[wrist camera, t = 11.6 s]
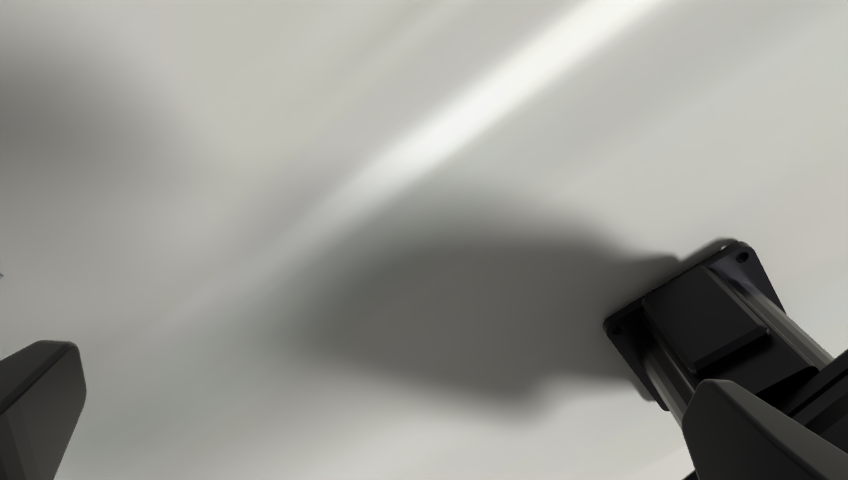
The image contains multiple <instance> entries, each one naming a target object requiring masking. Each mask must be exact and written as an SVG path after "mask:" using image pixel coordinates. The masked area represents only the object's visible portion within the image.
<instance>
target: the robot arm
mask: <svg viewBox="0 0 848 480" xmlns="http://www.w3.org/2000/svg"><path fill="white" fill-rule="evenodd" d="M739 253H742V254H741V255H740V256H739V257H737V255H738V254H739ZM736 257H737V258H736ZM617 325H620V326H619V327H618V328H615V329H613V328H614V327H615V326H617ZM603 329H604V331H605V333H606V334H607V336H608V337H609V339H610V340H611V341H612V343H613V344H614V345H615V347H616V348H617V349H618V351H619V352H620V354H621V355H622V356H623V358H624V359H625V360H626V362H627V363H628V364H629V366H630V367H631V368H632V370H633V371H634V372H635V374H636V375H637V376H638V378H639V379H640V380H641V382H642V383H643V384H644V386H645V387H646V388H647V390H648V391H649V392H650V394H651V395H652V396H653V398H654V399H655V400H656V402H657V403H658V404H659V406H660V407H661V408H662V409H663V410H664V411H670V412H671V413H672V415H673V417H674V418H675V420H676V421H677V423H678V425H679V426H680V428H681V429H682V432H683V436H684V439H685V441H686V444H687V447H688V450H689V453H690V456H691V459H692V461H693V465H694V467H695V470H694V471H692V472H691V473H690V474H689V475H687V476H686V477H685V478H684V479H682V480H848V349H847V350H846V351H844V352H843V353H842V354H841V355H839V356H838V357H837V358H835V359H834V358H833V357H832V356H831V355H830V354H829V353H828V352H826V351H825V350H824V349H823V348H822V347H821V346H820V345H819V344H818V343H817V342H815V341H814V340H813V339H812V338H811V337H810V336H809V335H808V334H807V333H806V332H804V331H803V330H802V329H801V328H800V327H799V326H798V325H797V324H796V323H795V322H794V321H792V320H791V319H790V318H789V317H788V316H787V314H786V312H785V310H784V308H783V306H782V304H781V302H780V300H779V298H778V296H777V294H776V292H775V290H774V289H773V287H772V285H771V283H770V281H769V279H768V277H767V275H766V273H765V271H764V269H763V267H762V265H761V263H760V261H759V259H758V257H757V255H756V253H755V251H754V250H753V249H752V247H750V246H749V245H748V244H747V243H745V242H742V241H741V242H735V243H733V244H731V245H729V246H728V247H726V248H724V249H722V250H721V251H719V252H717V253H716V254H714V255H712V256H711V257H709V258H707V259H706V260H704V261H702V262H701V263H699V264H697V265H695V266H694V267H692V268H690V269H689V270H687V271H685V272H684V273H682V274H680V275H679V276H677V277H675V278H674V279H672V280H670V281H668V282H667V283H665V284H663V285H662V286H660V287H658V288H657V289H655V290H653V291H652V292H650V293H648V294H647V295H645V296H643V297H642V298H640V299H638V300H636V301H635V302H633V303H631V304H630V305H628V306H626V307H625V308H623V309H621V310H620V311H618V312H616V313H615V314H613V315H611V316H609V317H608V318H607V319H606V320H605V321H604V323H603ZM85 400H86V383H85V378H84V373H83V368H82V363H81V358H80V353H79V350H78V347H77V346H76V344H74V343H72V342H69V341H53V340H41V341H38V342H35V343H33V344H31V345H29V346H27V347H26V348H24V349H22V350H20V351H18V352H16V353H14V354H12V355H10V356H9V357H7V358H5V359H3V360H1V361H0V480H54V477H55V475H56V472H57V470H58V467H59V465H60V463H61V460H62V458H63V455H64V453H65V450H66V448H67V446H68V443H69V441H70V438H71V436H72V433H73V431H74V429H75V426H76V424H77V421H78V419H79V416H80V414H81V412H82V409H83V407H84V404H85Z"/></svg>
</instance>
